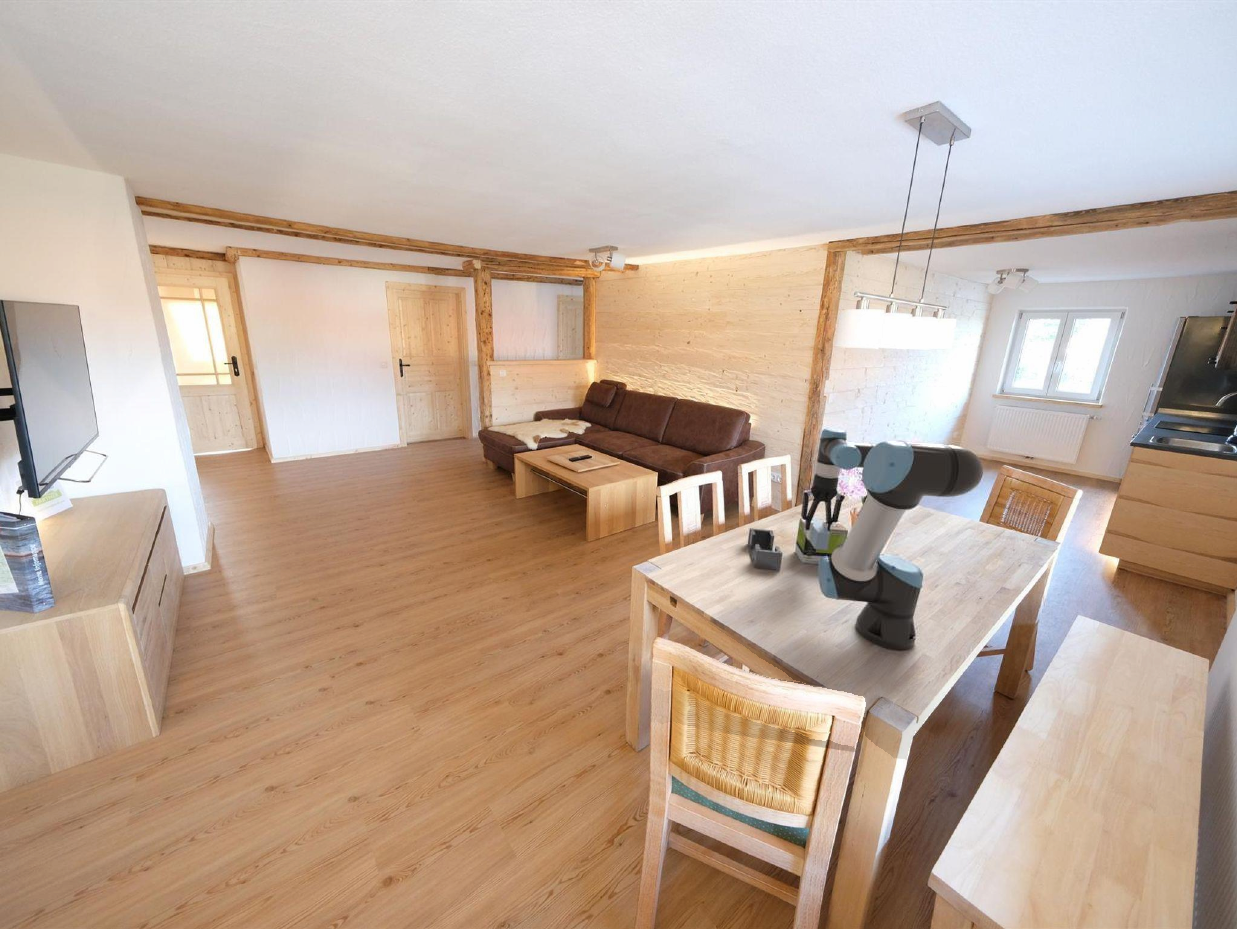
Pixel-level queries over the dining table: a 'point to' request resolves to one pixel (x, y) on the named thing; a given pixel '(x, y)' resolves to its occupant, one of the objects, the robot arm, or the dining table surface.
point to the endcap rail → (764, 550)
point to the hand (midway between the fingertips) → (815, 539)
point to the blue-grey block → (819, 534)
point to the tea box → (813, 555)
